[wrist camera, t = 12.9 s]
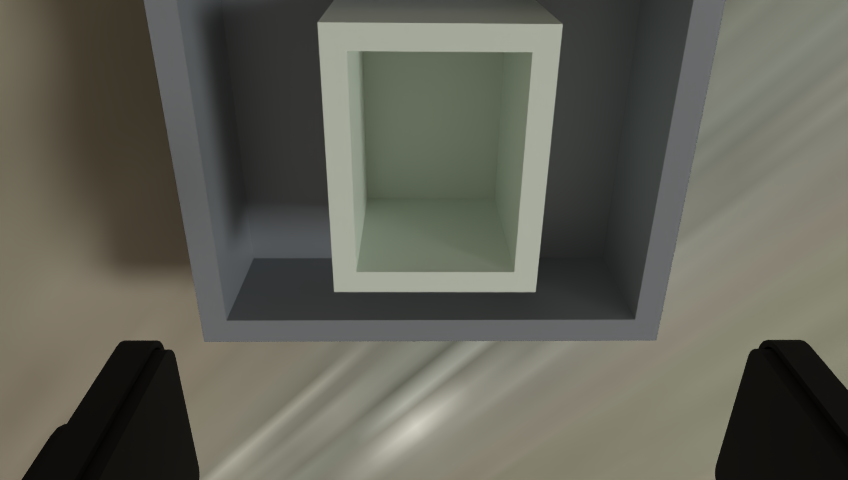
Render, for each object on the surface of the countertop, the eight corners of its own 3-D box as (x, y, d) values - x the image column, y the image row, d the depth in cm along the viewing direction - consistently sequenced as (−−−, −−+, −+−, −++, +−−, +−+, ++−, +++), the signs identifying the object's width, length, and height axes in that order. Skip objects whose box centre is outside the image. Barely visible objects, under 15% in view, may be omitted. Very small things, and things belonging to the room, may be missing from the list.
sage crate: (341, -10, 25) (317, 22, 19) (526, -8, 25) (562, 24, 19) (350, 207, 29) (333, 291, 23) (509, 207, 29) (535, 291, 23)
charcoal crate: (186, -114, 24) (122, -117, 19) (675, -111, 25) (748, -112, 19) (239, 266, 32) (204, 341, 26) (615, 266, 32) (656, 340, 27)
